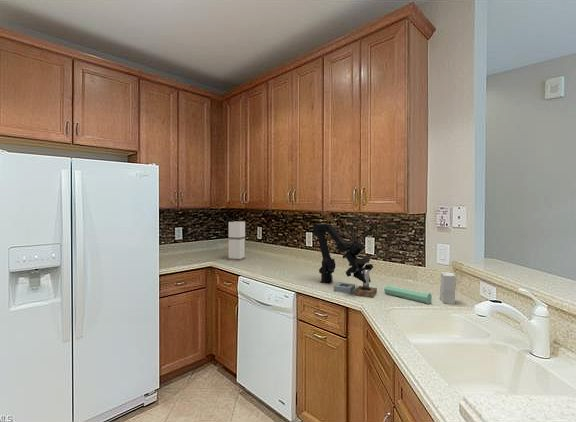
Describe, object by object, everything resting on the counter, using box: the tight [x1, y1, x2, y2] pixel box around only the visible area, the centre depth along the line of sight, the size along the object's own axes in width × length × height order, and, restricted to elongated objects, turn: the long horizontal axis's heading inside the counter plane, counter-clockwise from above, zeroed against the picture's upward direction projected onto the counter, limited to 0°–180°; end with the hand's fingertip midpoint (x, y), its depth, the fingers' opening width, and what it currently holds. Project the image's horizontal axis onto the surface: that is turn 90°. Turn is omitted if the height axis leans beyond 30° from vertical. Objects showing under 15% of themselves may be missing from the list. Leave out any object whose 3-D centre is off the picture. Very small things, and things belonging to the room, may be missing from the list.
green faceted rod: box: [383, 285, 433, 305], centre depth 163 cm, size 6×6×25 cm
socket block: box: [333, 281, 356, 295], centre depth 178 cm, size 10×10×3 cm
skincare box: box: [439, 271, 457, 305], centre depth 158 cm, size 8×6×15 cm
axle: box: [362, 269, 370, 291], centre depth 170 cm, size 3×3×14 cm
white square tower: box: [228, 220, 246, 262], centre depth 275 cm, size 11×11×35 cm
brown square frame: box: [354, 285, 378, 299], centre depth 170 cm, size 10×10×3 cm
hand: (367, 282), depth 169 cm, fingers closed on axle, 3 cm apart
